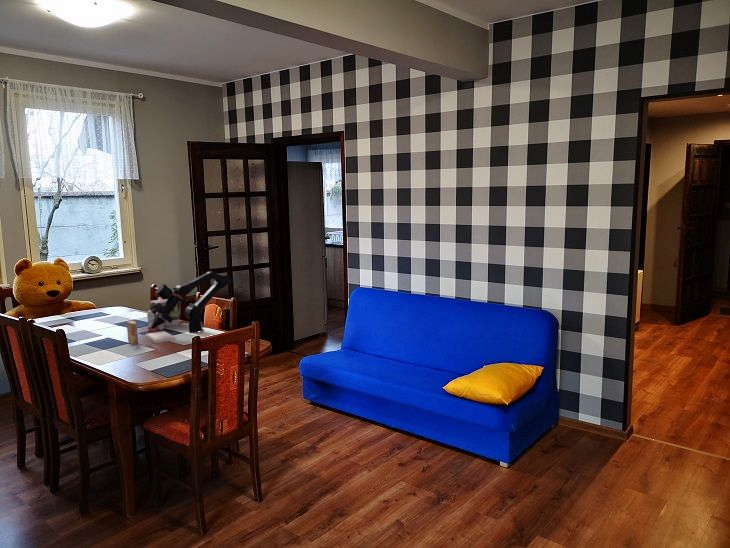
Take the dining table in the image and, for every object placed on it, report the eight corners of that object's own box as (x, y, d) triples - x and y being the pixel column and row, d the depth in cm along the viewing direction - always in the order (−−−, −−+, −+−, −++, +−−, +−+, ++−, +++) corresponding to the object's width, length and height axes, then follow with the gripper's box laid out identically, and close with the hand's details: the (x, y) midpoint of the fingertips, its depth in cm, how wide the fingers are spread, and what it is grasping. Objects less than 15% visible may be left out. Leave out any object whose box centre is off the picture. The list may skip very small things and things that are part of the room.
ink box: (155, 332, 310) (154, 311, 308) (148, 332, 311) (146, 311, 309) (164, 328, 318) (162, 308, 316) (156, 328, 319) (155, 308, 317)
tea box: (179, 321, 334) (177, 297, 331) (179, 325, 324) (177, 301, 322) (152, 324, 329) (150, 299, 327) (151, 328, 320) (149, 303, 317)
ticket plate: (164, 333, 307) (163, 330, 307) (175, 339, 294) (174, 336, 294) (145, 336, 301) (145, 334, 300) (156, 343, 288) (155, 340, 287)
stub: (134, 340, 292) (132, 320, 290) (138, 343, 287) (136, 322, 285) (128, 341, 290) (126, 321, 288) (132, 344, 285) (130, 323, 283)
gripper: (152, 293, 301) (133, 317, 296) (164, 298, 287) (145, 323, 282) (168, 305, 307) (150, 328, 303) (180, 310, 293) (162, 334, 288)
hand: (151, 328), depth 294 cm, fingers closed
